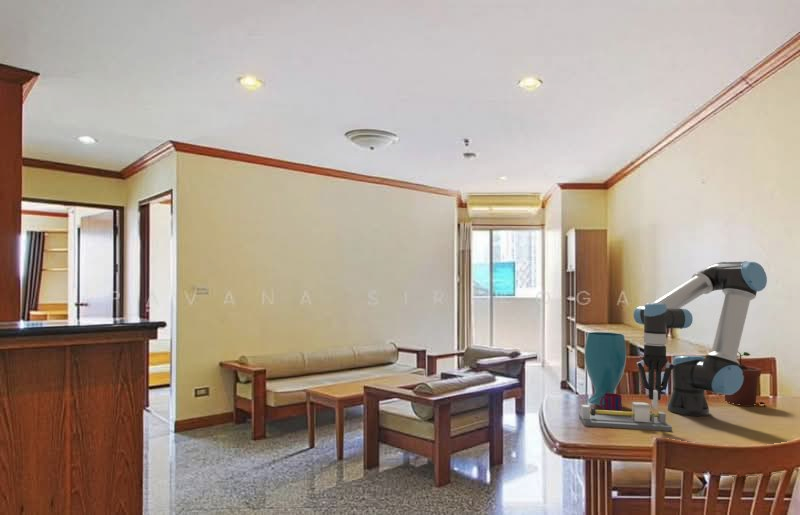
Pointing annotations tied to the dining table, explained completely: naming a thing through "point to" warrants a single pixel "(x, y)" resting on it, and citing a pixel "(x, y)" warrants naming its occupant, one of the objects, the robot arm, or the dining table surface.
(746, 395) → the potted plant
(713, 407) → the dining table surface
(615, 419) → the linear slide mechanism
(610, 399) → the mug
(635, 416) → the sleeve
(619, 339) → the vase
